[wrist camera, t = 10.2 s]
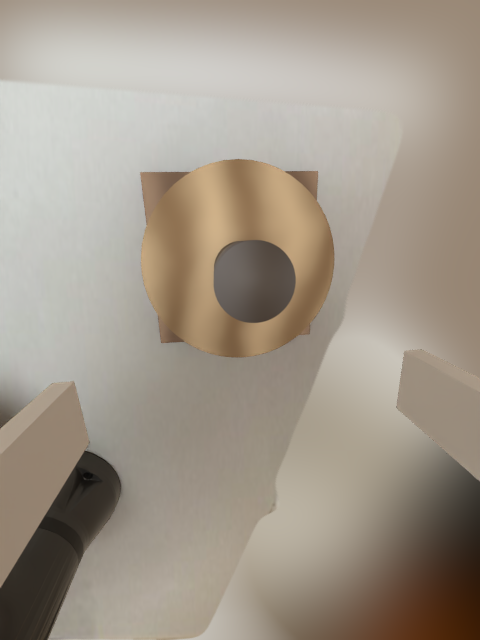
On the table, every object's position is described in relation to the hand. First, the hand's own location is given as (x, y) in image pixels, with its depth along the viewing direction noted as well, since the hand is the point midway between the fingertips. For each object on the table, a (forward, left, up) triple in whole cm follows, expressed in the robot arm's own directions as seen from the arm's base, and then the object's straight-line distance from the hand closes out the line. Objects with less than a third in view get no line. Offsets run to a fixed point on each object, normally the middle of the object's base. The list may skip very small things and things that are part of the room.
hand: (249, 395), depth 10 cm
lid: (+1, +4, -17) cm, 17 cm away
